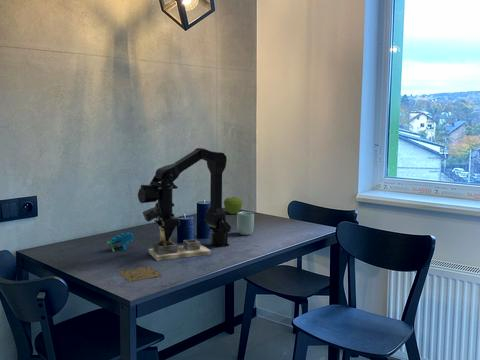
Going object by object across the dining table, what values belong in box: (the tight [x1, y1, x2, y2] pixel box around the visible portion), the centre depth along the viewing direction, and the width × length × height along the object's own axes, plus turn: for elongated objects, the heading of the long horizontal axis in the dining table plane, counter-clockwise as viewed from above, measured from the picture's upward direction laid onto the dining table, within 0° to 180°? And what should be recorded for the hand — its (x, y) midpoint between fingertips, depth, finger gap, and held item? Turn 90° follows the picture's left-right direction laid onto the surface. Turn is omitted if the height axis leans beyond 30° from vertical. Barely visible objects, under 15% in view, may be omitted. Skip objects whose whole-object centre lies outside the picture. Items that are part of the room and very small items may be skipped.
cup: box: [236, 211, 255, 236], centre depth 226 cm, size 8×8×10 cm
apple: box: [223, 196, 243, 215], centre depth 274 cm, size 11×10×10 cm
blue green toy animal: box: [106, 232, 135, 253], centre depth 195 cm, size 11×6×10 cm
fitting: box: [158, 225, 171, 246], centre depth 188 cm, size 5×5×8 cm
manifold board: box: [148, 238, 212, 261], centre depth 192 cm, size 22×12×4 cm, turn 116°
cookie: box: [118, 266, 163, 283], centre depth 166 cm, size 12×12×1 cm
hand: (165, 239), depth 189 cm, fingers closed on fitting, 4 cm apart
